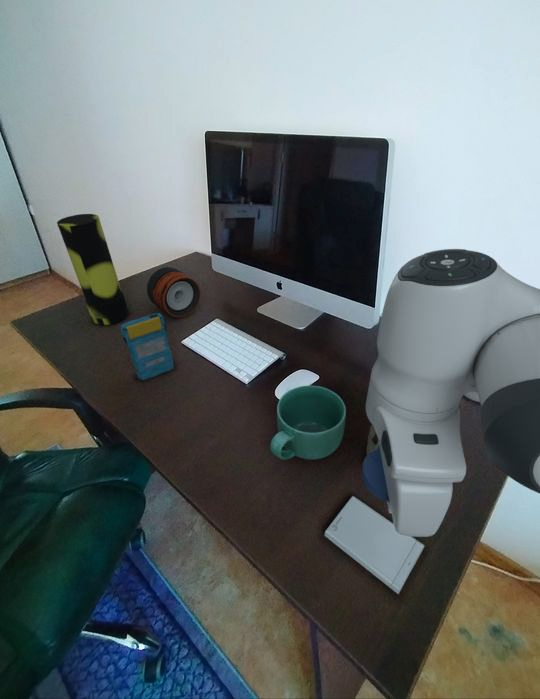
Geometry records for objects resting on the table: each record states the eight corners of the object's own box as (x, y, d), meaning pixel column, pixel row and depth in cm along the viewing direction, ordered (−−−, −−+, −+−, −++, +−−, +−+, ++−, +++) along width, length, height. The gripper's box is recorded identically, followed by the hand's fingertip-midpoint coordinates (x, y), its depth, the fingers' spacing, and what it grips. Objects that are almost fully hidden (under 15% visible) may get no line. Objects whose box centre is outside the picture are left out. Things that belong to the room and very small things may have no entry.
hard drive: (324, 531, 57) (399, 590, 50) (353, 494, 62) (425, 543, 55) (324, 536, 58) (397, 595, 51) (352, 500, 63) (423, 549, 56)
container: (85, 319, 114) (48, 221, 97) (116, 305, 121) (85, 211, 103) (105, 330, 109) (69, 228, 91) (136, 314, 116) (107, 217, 98)
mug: (309, 409, 80) (310, 375, 75) (355, 442, 72) (360, 408, 67) (249, 451, 72) (246, 417, 66) (294, 494, 64) (294, 460, 58)
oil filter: (167, 324, 110) (158, 284, 103) (148, 309, 118) (138, 272, 110) (203, 308, 117) (197, 270, 109) (183, 295, 125) (176, 259, 117)
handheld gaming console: (172, 361, 96) (160, 311, 87) (178, 369, 93) (166, 318, 84) (135, 374, 92) (118, 324, 83) (140, 384, 89) (123, 332, 80)
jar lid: (373, 448, 51) (375, 440, 50) (424, 470, 48) (426, 463, 47) (352, 485, 47) (353, 477, 46) (406, 512, 43) (408, 505, 42)
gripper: (367, 344, 48) (355, 418, 56) (397, 485, 31) (374, 559, 40) (417, 345, 47) (398, 419, 55) (474, 489, 31) (435, 564, 39)
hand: (388, 479), depth 47 cm, fingers closed on jar lid, 7 cm apart
